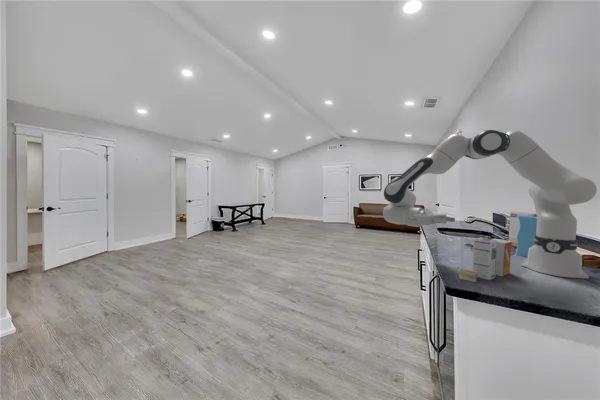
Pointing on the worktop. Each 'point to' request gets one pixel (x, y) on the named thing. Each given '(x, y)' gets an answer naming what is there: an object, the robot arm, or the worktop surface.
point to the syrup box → (484, 257)
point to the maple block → (468, 275)
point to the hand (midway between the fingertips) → (450, 220)
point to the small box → (503, 257)
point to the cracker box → (516, 225)
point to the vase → (526, 234)
